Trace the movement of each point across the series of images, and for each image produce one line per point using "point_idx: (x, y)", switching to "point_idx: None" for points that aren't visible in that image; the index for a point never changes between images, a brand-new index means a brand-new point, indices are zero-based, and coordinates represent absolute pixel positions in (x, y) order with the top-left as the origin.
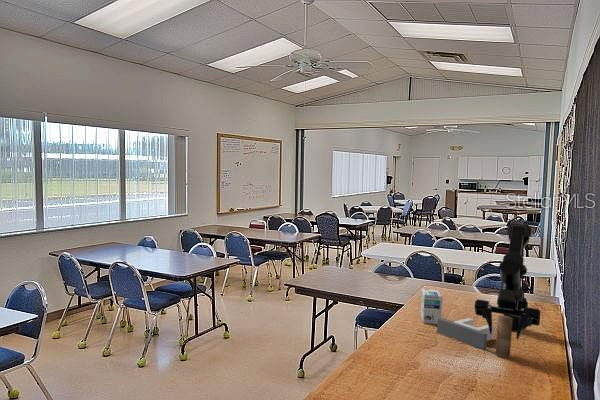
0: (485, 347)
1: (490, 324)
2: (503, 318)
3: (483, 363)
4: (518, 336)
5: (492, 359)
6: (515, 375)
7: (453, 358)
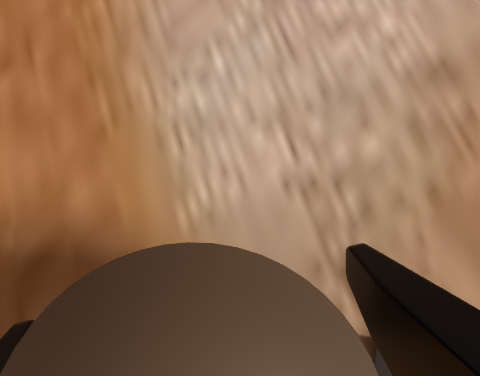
0: (378, 371)
1: (430, 308)
2: (198, 281)
3: (266, 72)
4: (3, 337)
5: (249, 188)
6: (53, 33)
7: (432, 13)
